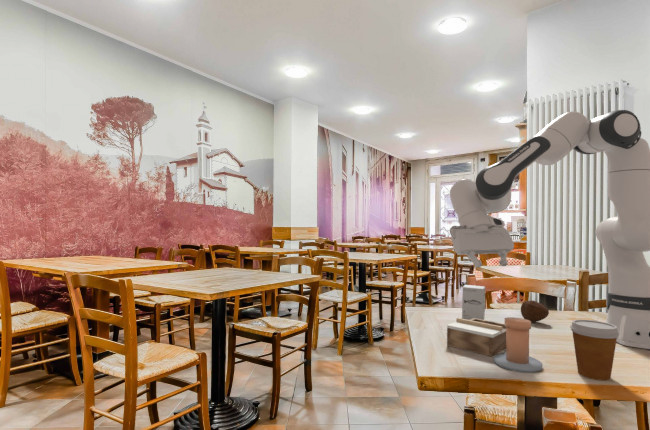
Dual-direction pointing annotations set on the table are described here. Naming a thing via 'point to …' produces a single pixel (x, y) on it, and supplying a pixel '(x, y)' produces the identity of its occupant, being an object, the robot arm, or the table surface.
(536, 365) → the saucer
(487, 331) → the lid panel
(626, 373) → the table surface
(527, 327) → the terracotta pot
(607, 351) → the disposable coffee cup
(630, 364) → the table surface
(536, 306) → the potato
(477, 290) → the supplement box
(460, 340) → the wooden box
